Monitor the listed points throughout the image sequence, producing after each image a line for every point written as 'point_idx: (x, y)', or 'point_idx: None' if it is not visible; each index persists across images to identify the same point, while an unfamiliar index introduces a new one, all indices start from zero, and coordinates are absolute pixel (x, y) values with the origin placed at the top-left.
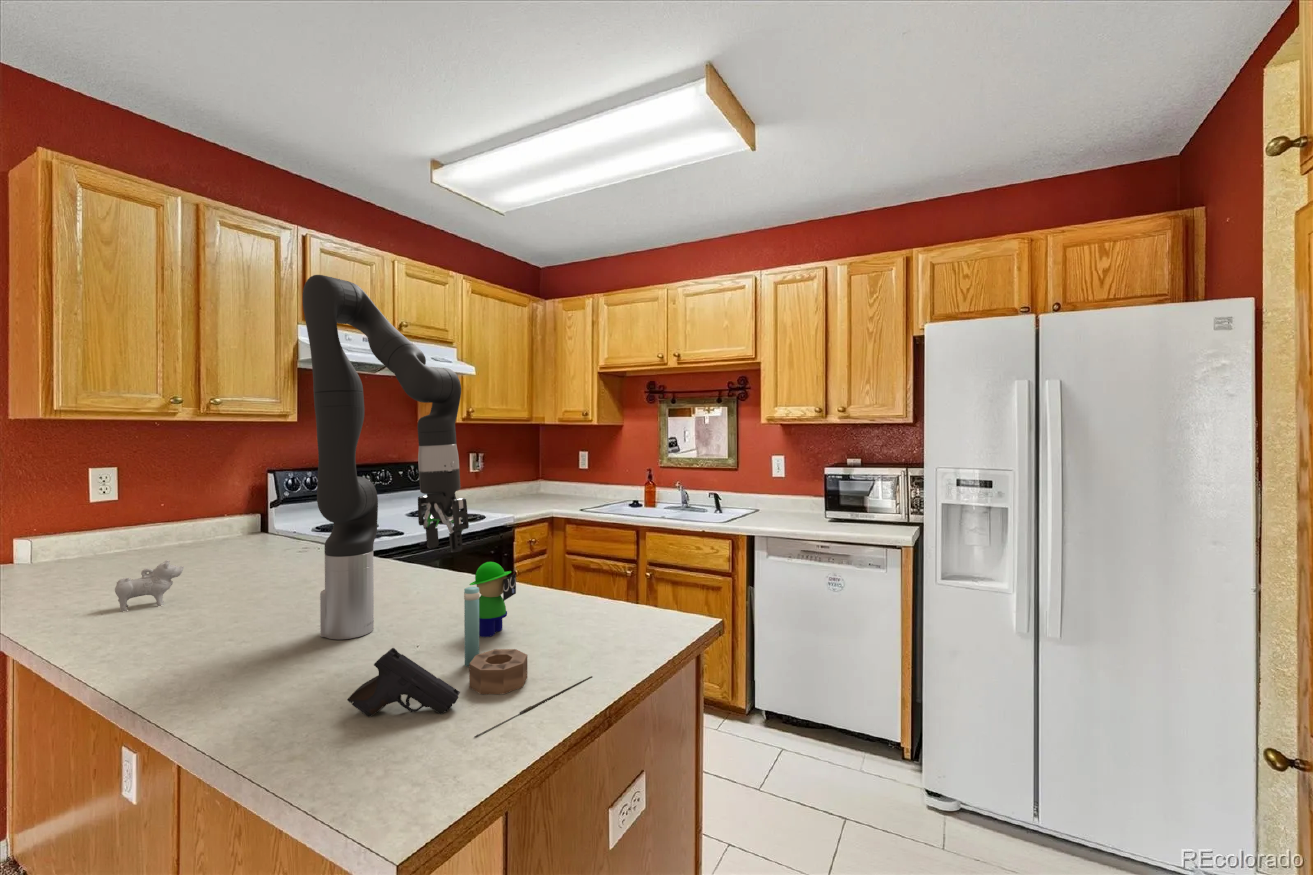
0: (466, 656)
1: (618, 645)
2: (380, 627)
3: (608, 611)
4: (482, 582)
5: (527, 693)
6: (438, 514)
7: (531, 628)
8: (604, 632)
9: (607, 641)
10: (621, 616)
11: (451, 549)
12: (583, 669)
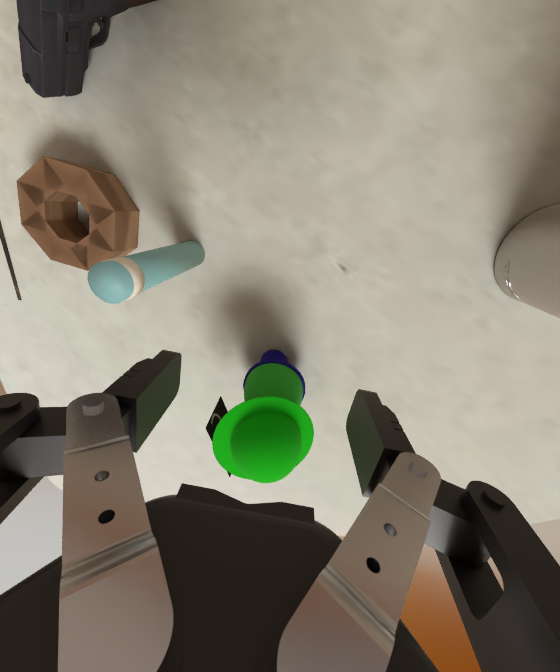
0: (184, 242)
1: None
2: (496, 306)
3: None
4: (244, 404)
5: None
6: (213, 536)
7: (232, 406)
8: None
9: None
10: (160, 481)
11: (164, 353)
12: (48, 315)
